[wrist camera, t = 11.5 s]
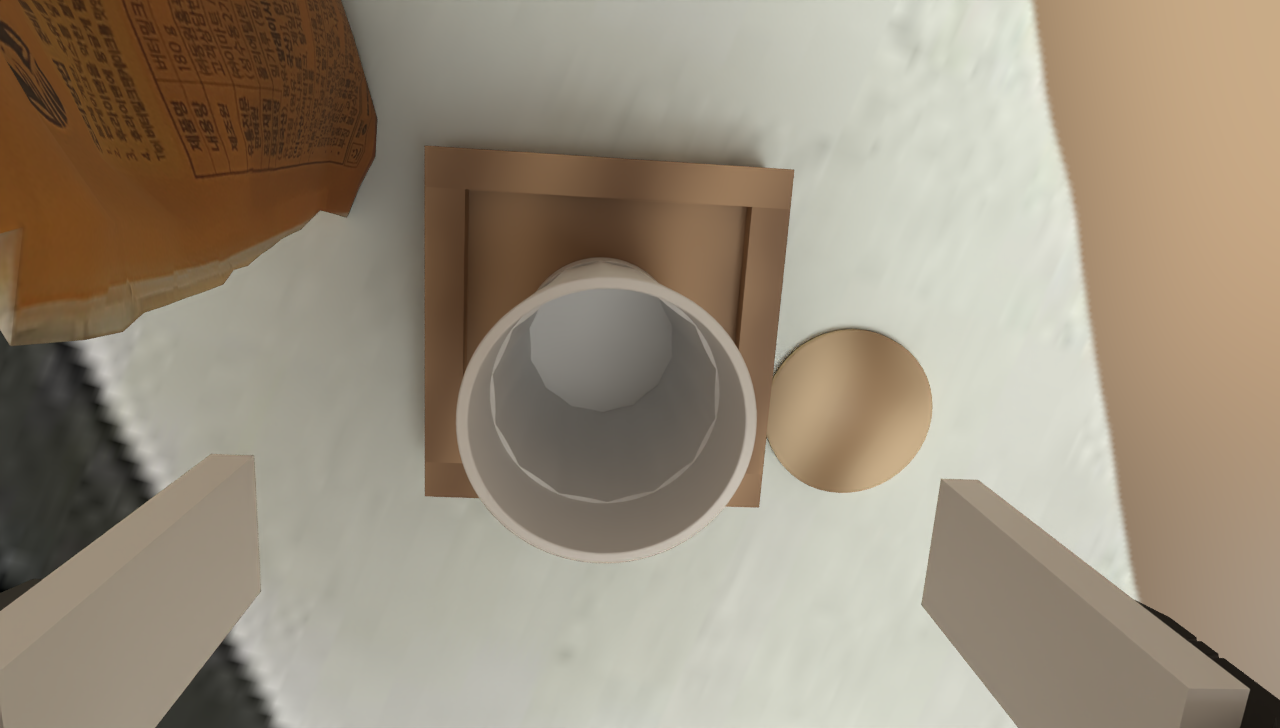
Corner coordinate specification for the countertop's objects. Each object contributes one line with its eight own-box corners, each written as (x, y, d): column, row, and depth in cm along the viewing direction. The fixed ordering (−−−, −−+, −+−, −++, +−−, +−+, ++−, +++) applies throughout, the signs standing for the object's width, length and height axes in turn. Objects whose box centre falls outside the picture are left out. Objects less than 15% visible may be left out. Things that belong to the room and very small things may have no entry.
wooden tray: (446, 454, 38) (425, 496, 33) (447, 148, 34) (424, 145, 30) (737, 465, 39) (758, 507, 34) (766, 169, 35) (794, 169, 31)
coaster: (756, 485, 39) (758, 489, 38) (772, 325, 37) (775, 327, 37) (914, 490, 40) (919, 495, 39) (938, 333, 38) (944, 335, 37)
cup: (563, 198, 31) (549, 217, 20) (733, 299, 33) (814, 372, 21) (468, 369, 33) (402, 481, 21) (634, 459, 34) (659, 609, 22)
